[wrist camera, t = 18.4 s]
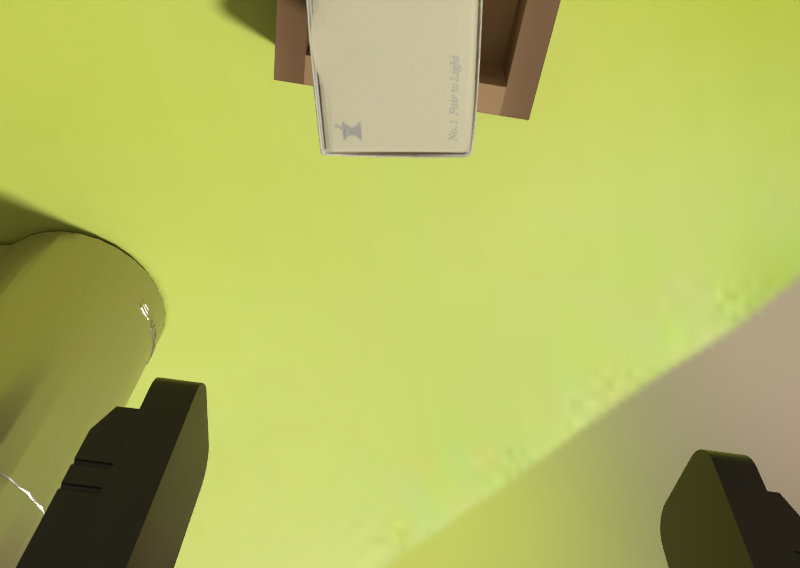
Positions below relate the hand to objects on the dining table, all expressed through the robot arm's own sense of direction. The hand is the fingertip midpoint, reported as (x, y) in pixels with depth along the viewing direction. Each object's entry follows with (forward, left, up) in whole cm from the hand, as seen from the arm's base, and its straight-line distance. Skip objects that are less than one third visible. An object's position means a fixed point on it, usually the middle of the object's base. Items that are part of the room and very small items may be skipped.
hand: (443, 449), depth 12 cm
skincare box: (-2, +3, -22) cm, 23 cm away
